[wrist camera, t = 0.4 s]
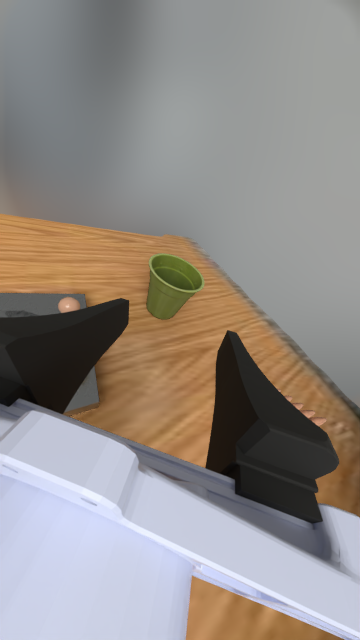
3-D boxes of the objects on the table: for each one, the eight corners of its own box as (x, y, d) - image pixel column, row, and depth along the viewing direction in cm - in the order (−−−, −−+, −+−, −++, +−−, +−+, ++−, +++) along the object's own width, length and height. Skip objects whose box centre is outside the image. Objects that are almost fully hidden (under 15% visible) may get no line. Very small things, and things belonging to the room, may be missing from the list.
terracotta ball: (69, 322, 27) (68, 310, 25) (54, 312, 27) (51, 299, 25) (84, 312, 29) (84, 300, 27) (70, 303, 29) (69, 290, 27)
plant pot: (148, 333, 35) (166, 293, 27) (129, 293, 40) (139, 250, 32) (191, 323, 42) (215, 289, 34) (170, 291, 47) (186, 255, 39)
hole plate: (98, 407, 23) (99, 401, 22) (-167, 490, 13) (-205, 492, 12) (84, 303, 33) (84, 294, 32) (-72, 305, 23) (-85, 292, 22)
